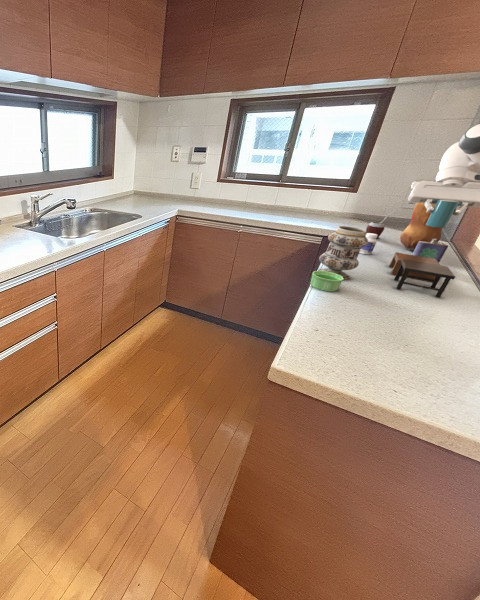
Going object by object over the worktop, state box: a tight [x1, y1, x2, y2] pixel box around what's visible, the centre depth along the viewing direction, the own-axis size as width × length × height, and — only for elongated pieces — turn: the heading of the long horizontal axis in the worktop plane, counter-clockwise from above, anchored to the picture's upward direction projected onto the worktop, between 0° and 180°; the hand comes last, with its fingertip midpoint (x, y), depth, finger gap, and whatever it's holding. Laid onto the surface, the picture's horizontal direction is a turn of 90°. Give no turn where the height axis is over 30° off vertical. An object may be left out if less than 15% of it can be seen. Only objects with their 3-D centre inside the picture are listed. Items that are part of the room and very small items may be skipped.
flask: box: [411, 239, 449, 264], centre depth 137 cm, size 9×3×11 cm, turn 58°
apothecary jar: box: [317, 225, 368, 280], centre depth 121 cm, size 12×12×18 cm
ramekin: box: [310, 270, 345, 292], centre depth 113 cm, size 9×9×4 cm
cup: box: [426, 199, 459, 229], centre depth 116 cm, size 5×5×9 cm
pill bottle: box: [359, 233, 378, 255], centre depth 149 cm, size 5×5×9 cm
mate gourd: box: [365, 211, 397, 240], centre depth 171 cm, size 8×8×15 cm
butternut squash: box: [399, 202, 443, 252], centre depth 150 cm, size 14×13×25 cm
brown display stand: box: [388, 252, 441, 283], centre depth 126 cm, size 12×12×6 cm
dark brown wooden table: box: [393, 259, 456, 299], centre depth 113 cm, size 12×12×8 cm
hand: (443, 213), depth 115 cm, fingers closed on cup, 5 cm apart
